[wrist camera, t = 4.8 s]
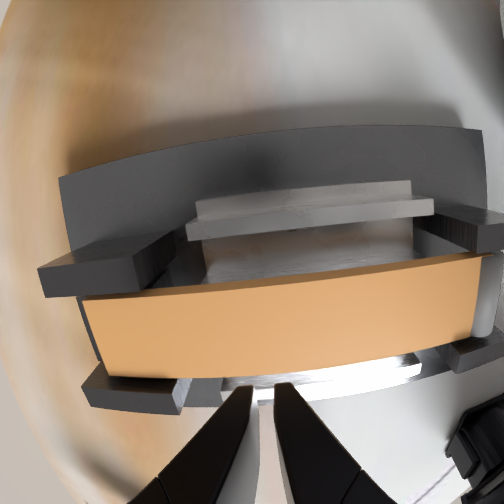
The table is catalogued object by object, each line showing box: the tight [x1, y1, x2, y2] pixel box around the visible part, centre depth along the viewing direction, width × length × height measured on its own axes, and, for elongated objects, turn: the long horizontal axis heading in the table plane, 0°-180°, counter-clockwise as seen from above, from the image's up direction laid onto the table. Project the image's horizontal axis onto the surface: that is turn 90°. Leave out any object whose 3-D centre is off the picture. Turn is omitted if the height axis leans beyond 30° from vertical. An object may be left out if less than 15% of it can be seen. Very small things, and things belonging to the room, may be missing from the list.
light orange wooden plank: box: [82, 250, 504, 378], centre depth 10 cm, size 17×4×2 cm, turn 97°
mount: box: [37, 125, 504, 415], centre depth 12 cm, size 22×14×6 cm, turn 97°
